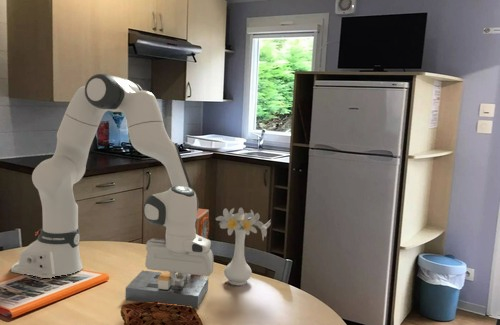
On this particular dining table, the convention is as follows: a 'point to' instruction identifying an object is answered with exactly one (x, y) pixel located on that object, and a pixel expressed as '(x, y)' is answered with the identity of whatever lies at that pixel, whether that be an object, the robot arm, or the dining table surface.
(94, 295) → the dining table surface
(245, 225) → the flower vase
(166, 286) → the block
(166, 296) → the box
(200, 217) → the orange retro radio
